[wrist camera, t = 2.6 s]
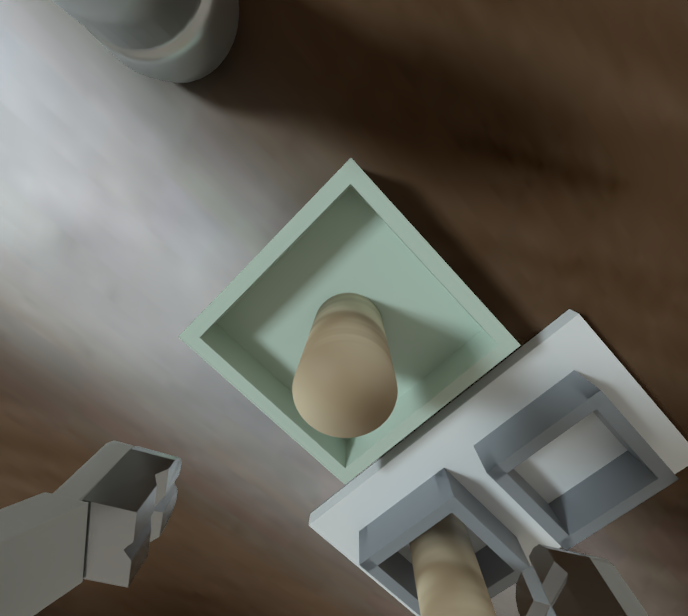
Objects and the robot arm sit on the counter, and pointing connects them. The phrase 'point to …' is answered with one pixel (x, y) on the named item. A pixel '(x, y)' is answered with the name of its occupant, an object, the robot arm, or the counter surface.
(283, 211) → the counter surface
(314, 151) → the counter surface
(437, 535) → the cylinder
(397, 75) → the counter surface
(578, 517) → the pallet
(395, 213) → the tote
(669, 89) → the counter surface
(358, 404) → the cylinder
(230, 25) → the plastic bottle
